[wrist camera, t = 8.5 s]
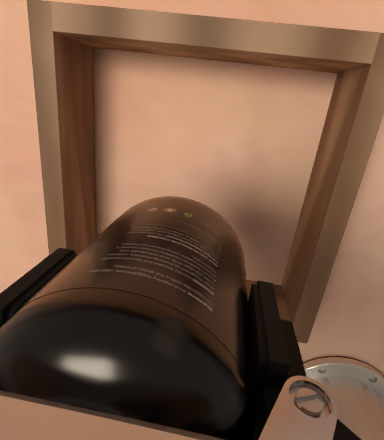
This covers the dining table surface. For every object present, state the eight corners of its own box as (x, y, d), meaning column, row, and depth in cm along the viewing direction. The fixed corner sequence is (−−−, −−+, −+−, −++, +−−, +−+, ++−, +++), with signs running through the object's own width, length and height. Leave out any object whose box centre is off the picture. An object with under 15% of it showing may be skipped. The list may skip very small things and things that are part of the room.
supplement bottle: (83, 238, 15) (-337, 594, 4) (192, 163, 13) (-54, 471, 2) (162, 333, 17) (15, 789, 5) (271, 280, 15) (392, 839, 3)
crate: (365, 52, 23) (409, 35, 17) (293, 300, 31) (307, 343, 26) (73, 22, 24) (26, -1, 19) (82, 266, 33) (53, 299, 27)
